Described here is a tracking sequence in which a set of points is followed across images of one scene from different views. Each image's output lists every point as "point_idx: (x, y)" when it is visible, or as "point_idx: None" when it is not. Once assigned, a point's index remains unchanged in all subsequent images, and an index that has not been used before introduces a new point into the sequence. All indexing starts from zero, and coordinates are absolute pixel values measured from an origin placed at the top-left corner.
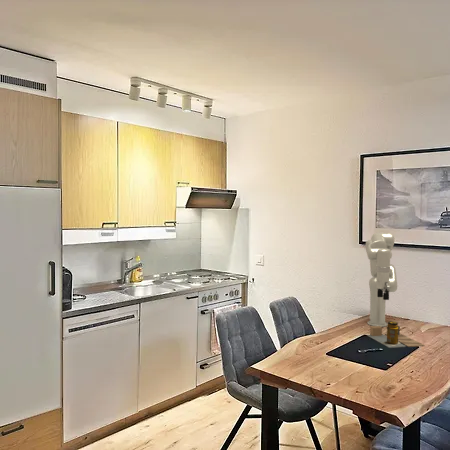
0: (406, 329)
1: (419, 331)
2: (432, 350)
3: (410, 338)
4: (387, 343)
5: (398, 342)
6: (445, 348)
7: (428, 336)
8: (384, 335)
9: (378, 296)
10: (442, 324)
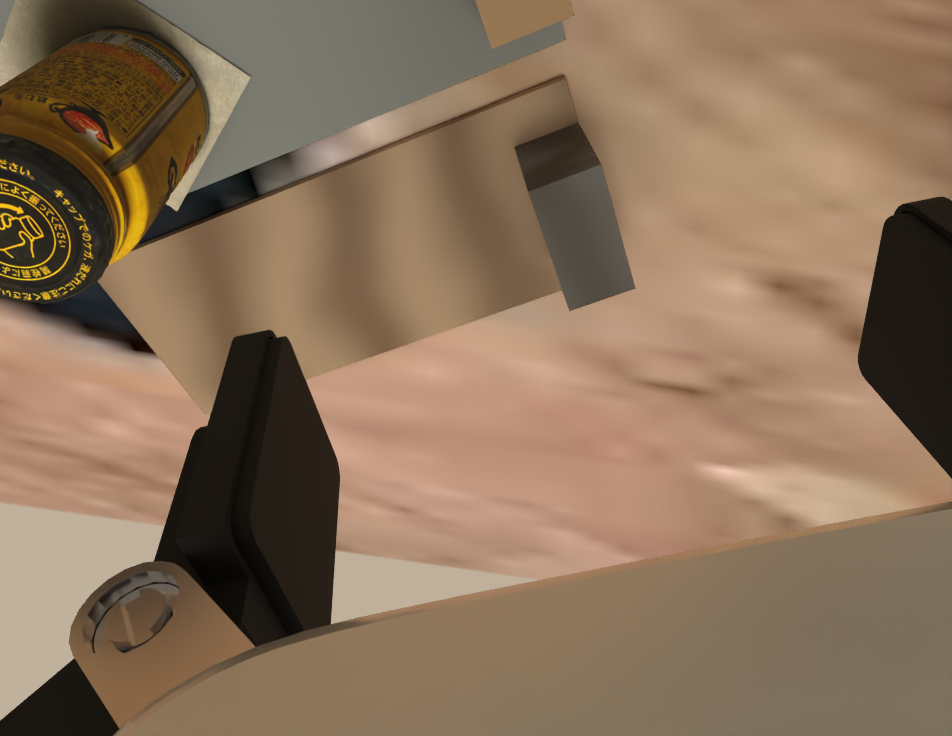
0: (801, 360)
1: (718, 451)
2: (81, 441)
3: (414, 338)
4: (71, 27)
5: (186, 185)
6: None
7: (549, 486)
8: (491, 59)
9: (894, 235)
10: None
